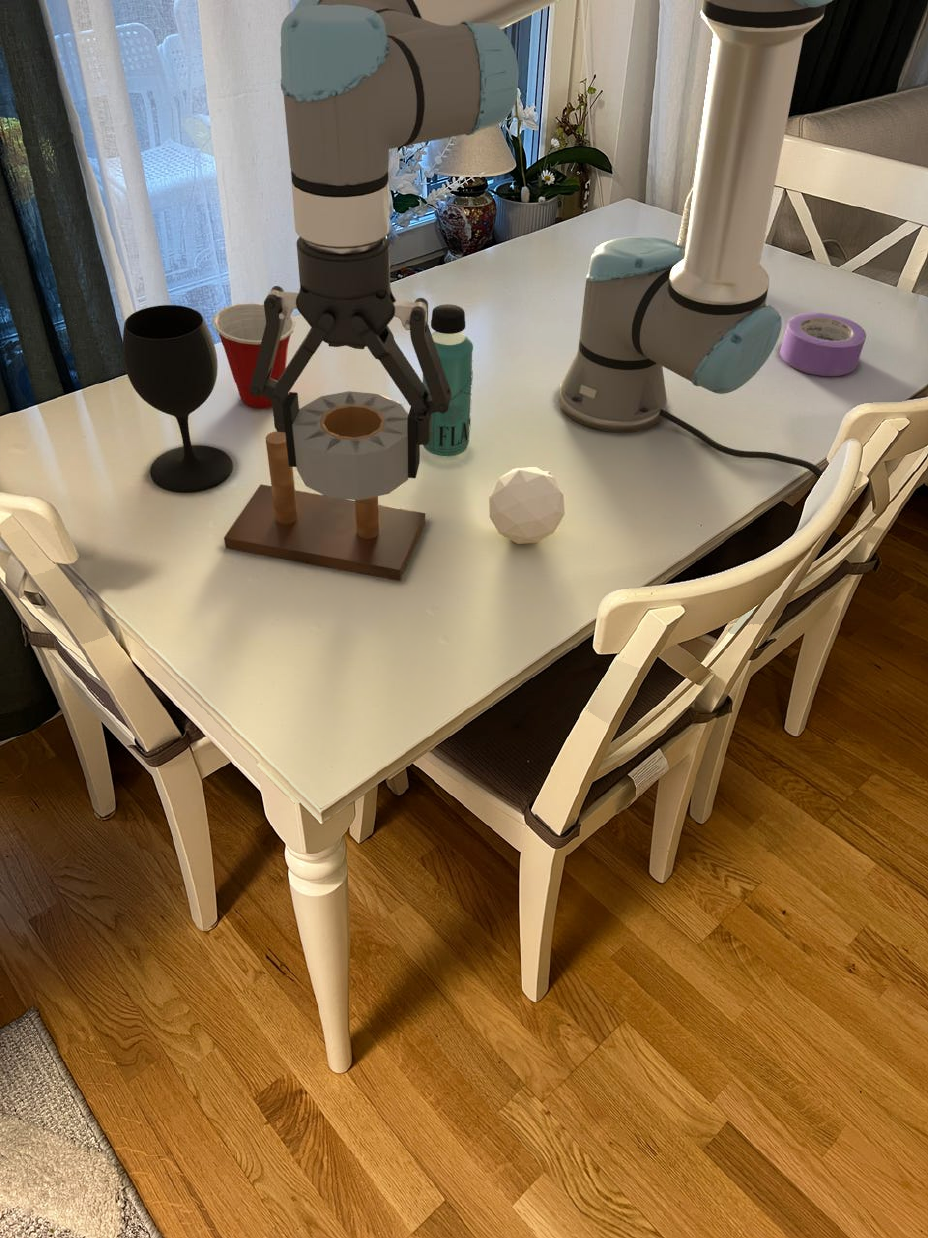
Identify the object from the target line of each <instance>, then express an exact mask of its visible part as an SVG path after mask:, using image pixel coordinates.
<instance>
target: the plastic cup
mask: <svg viewBox="0 0 928 1238" xmlns="http://www.w3.org/2000/svg"><path fill="white" fill-rule="evenodd" d="M296 323H297V322H296V319H294V317H293V314H291V315H290V317H289V318H288V319H285V323H284V327H283V331H282V335H281V338H280V342H279V346H278V349H277V353H276V357H275V361H274V364H273V368H272V372H271V375H270V378H271V379H274V380H276V381H278V379H279V378H280V377H281V375H282V374H283V372H284V370H285V369H286V367H287V363H288V351H289V343H290V339H291V336H292V334H293V333H294V330H295V327H296ZM212 324H213V326H214V329H215V331H216V332H217V333H218V336H219V338H220V341H221V344H222V347H223V348H224V352H225V355H226V359H227V362H228V365H229V369H230V372H231V375H232V377H233V381H234V383H235V385H236V388H237V391H238V394H239V397H240V400H241V401H242V403H243V405H245V406H247V407H249V408H252V409H262V410H264V409H269V408H272V403H271V401H270V400H269V399H268V398H266V397H263V396H259V397H255V396H253V395H252V394H251V393H250V385H251V381H252V377H253V373H254V369H255V365H256V361H257V357H258V353H259V349H260V345H261V341H262V337H263V334H264V330H265V326H266V318H265V310H264V303H261V302H260V303H258V302H244V303H236V304H232V305H229V306H225V307H223V308H221V309H220V310H219V311H217V312H216V313H214V316H213V319H212Z"/></svg>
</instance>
